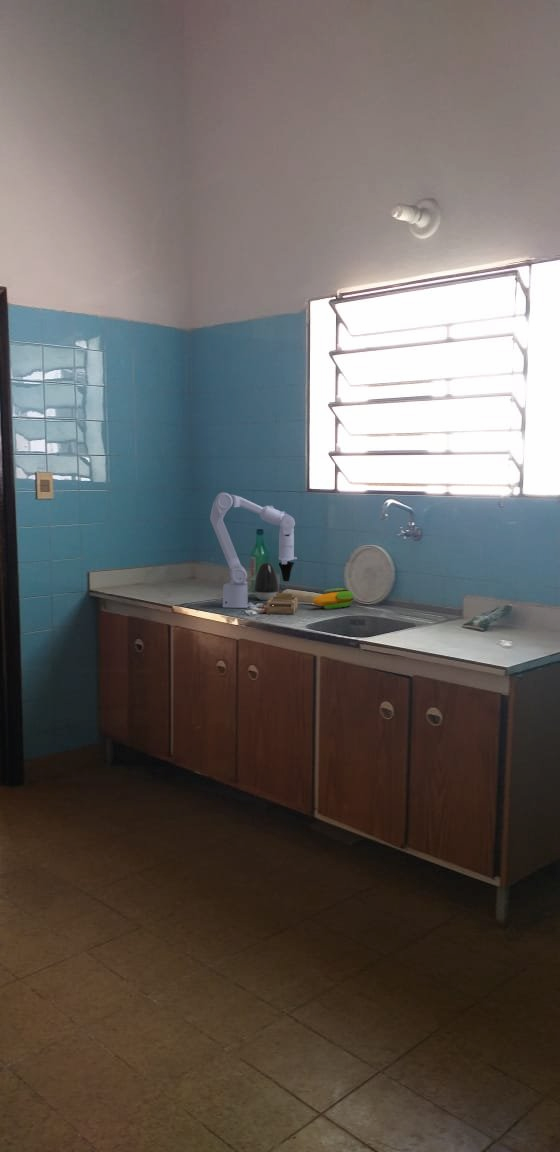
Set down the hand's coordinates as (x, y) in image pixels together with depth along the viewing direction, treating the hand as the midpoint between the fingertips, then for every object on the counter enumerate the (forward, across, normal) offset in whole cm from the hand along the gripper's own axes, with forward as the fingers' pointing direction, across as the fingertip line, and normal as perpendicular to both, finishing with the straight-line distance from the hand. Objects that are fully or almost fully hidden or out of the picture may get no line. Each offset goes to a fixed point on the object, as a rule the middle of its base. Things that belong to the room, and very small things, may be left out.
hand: (286, 581), depth 353 cm
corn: (+10, -1, -18) cm, 21 cm away
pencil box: (+10, -12, 0) cm, 15 cm away
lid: (+7, -12, 0) cm, 14 cm away
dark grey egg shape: (+10, +17, +10) cm, 22 cm away
